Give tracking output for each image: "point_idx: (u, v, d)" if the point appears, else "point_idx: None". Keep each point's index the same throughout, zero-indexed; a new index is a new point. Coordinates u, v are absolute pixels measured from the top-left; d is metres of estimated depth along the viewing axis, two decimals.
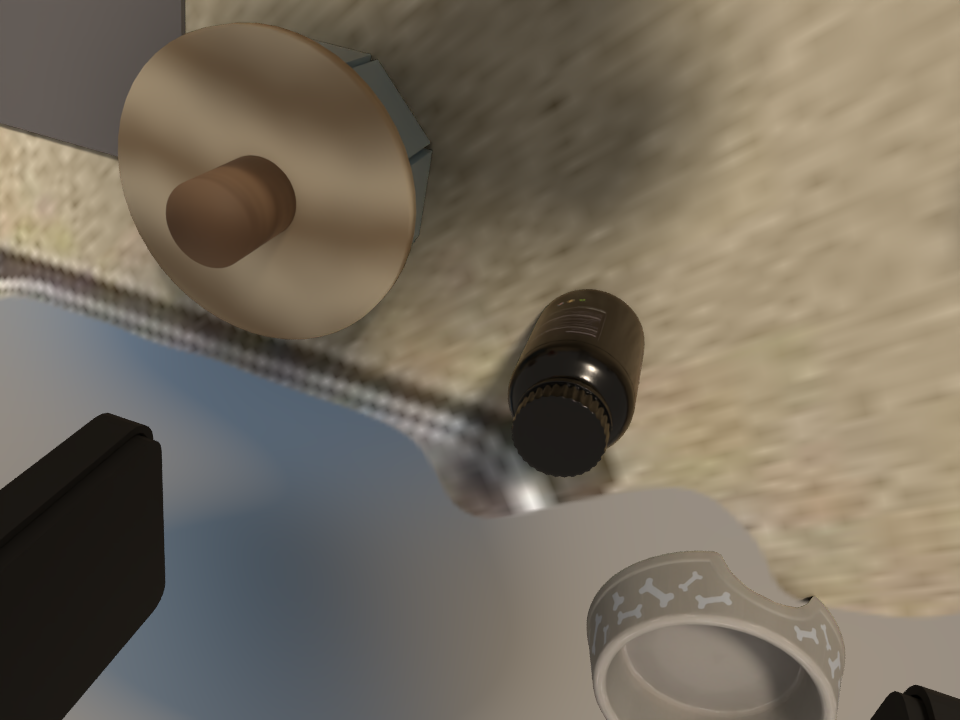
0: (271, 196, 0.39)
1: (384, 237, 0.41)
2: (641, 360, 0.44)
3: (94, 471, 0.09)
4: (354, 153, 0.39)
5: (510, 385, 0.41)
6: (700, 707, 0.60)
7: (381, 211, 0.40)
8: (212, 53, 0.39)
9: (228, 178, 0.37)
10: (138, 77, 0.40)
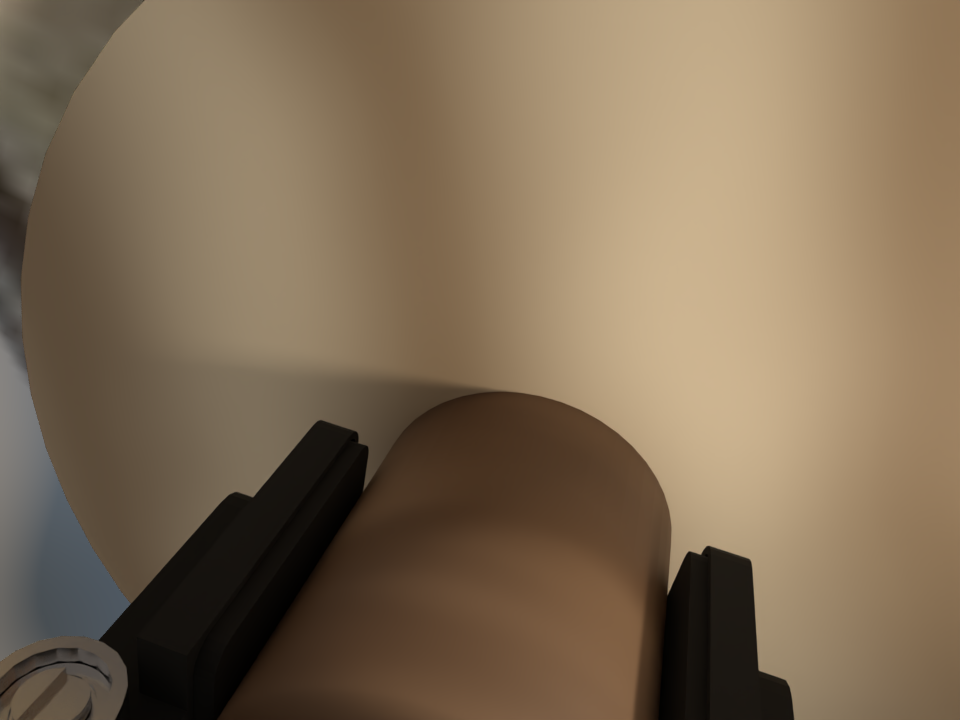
0: None
1: None
2: None
3: (328, 474, 0.09)
4: None
5: None
6: None
7: None
8: None
9: None
10: None
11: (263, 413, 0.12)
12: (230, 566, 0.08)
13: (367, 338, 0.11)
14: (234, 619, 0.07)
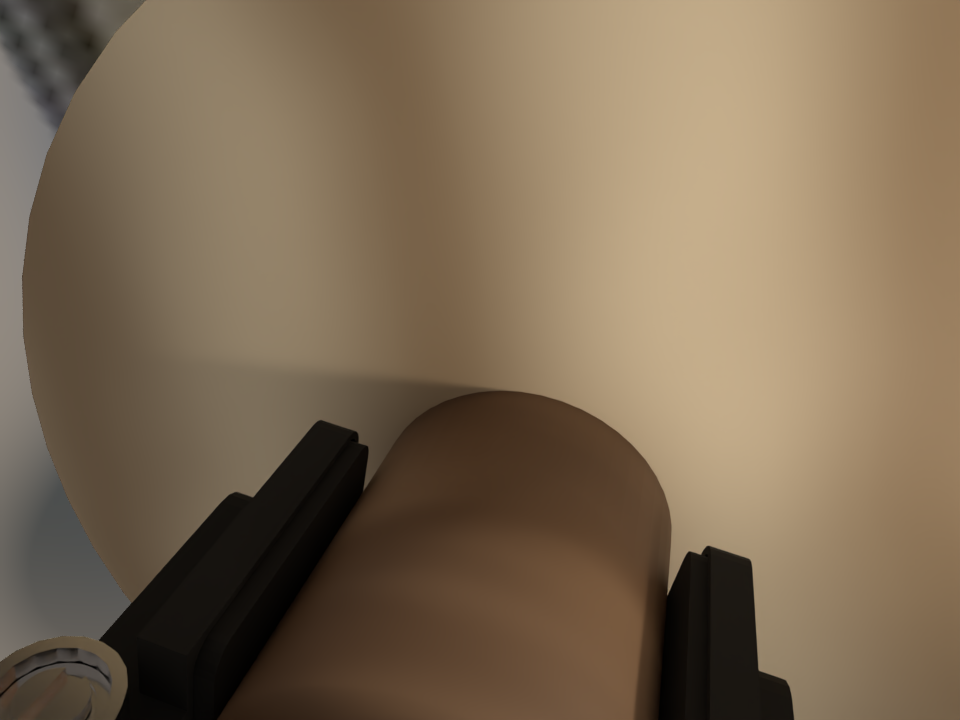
0: None
1: None
2: None
3: (328, 474, 0.09)
4: None
5: None
6: None
7: None
8: None
9: None
10: None
11: (264, 412, 0.12)
12: (230, 565, 0.08)
13: (368, 337, 0.11)
14: (234, 619, 0.07)
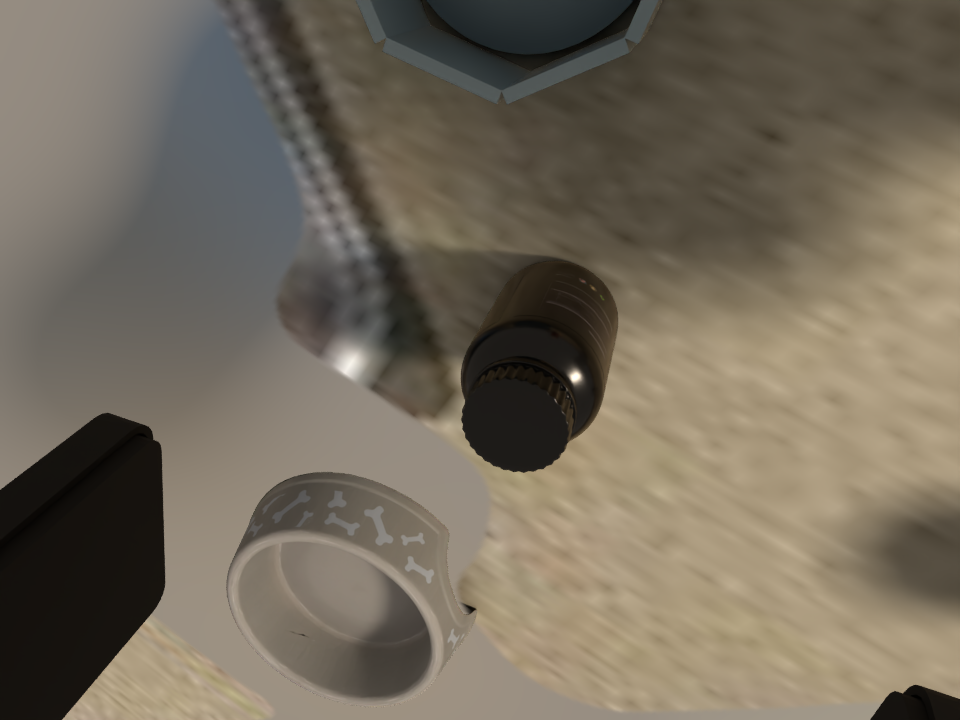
0: None
1: None
2: None
3: (94, 471, 0.09)
4: None
5: (503, 327, 0.35)
6: (300, 602, 0.60)
7: None
8: None
9: None
10: None
11: None
12: None
13: None
14: None
